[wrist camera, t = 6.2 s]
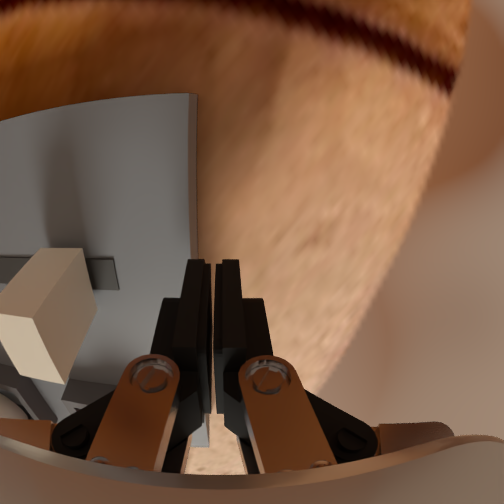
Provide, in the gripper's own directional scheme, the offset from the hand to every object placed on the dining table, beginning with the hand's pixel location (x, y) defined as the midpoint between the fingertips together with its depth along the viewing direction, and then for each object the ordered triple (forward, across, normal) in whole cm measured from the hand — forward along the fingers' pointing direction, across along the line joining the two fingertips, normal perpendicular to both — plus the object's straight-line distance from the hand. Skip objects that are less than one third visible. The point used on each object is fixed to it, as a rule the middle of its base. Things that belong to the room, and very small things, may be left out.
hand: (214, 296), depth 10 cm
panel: (+4, +14, +4) cm, 15 cm away
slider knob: (+1, +6, 0) cm, 6 cm away
